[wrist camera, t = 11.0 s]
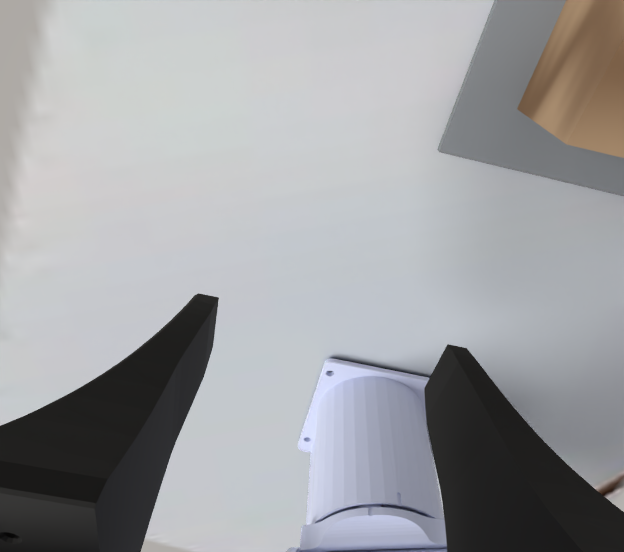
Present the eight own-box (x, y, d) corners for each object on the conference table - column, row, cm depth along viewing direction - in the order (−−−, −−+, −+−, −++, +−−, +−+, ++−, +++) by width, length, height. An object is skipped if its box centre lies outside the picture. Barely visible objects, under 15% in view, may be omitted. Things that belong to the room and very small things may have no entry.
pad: (635, 196, 21) (640, 200, 21) (437, 149, 20) (439, 152, 20) (809, -58, 16) (819, -59, 15) (546, -136, 15) (551, -138, 15)
